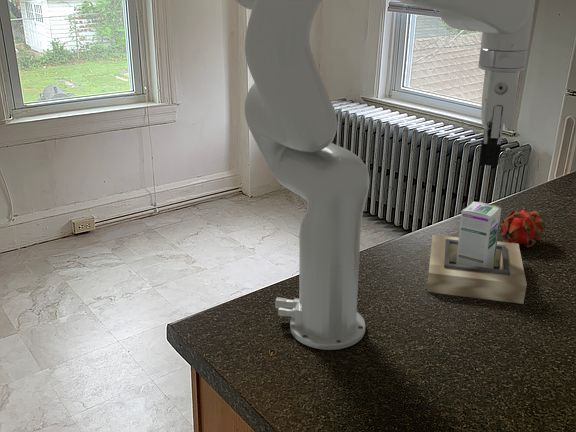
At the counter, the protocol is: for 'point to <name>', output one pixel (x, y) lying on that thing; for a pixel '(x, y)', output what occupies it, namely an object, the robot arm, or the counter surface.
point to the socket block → (476, 273)
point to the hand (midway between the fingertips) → (488, 163)
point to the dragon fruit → (523, 227)
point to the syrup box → (478, 235)
